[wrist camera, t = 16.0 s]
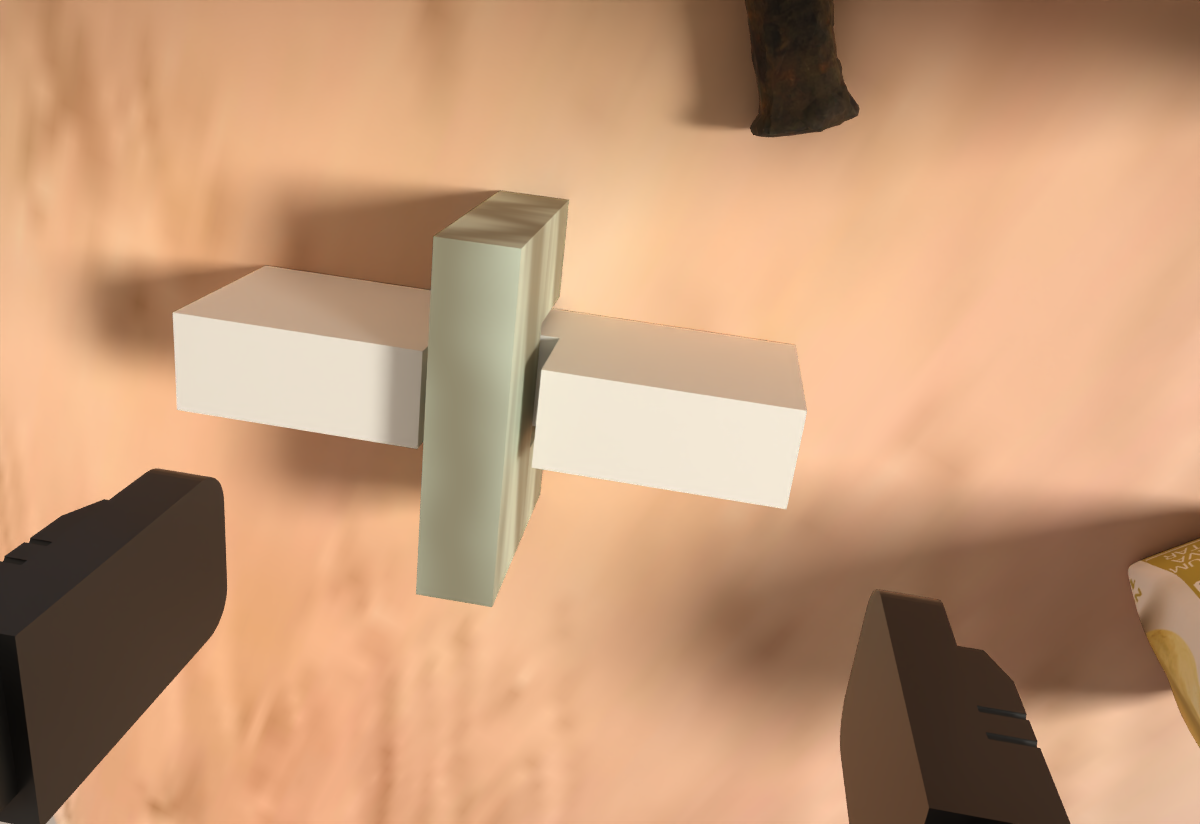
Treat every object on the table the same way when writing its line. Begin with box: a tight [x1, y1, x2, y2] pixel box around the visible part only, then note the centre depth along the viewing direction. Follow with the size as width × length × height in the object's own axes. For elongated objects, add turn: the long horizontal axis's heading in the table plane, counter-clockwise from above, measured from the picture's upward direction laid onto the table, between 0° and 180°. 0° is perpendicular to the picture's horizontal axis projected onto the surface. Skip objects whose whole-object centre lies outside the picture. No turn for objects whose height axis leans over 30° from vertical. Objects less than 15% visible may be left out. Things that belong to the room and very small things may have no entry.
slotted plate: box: [416, 191, 569, 607], centre depth 40 cm, size 3×14×10 cm, turn 173°
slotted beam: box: [173, 266, 807, 509], centre depth 41 cm, size 24×4×8 cm, turn 83°
